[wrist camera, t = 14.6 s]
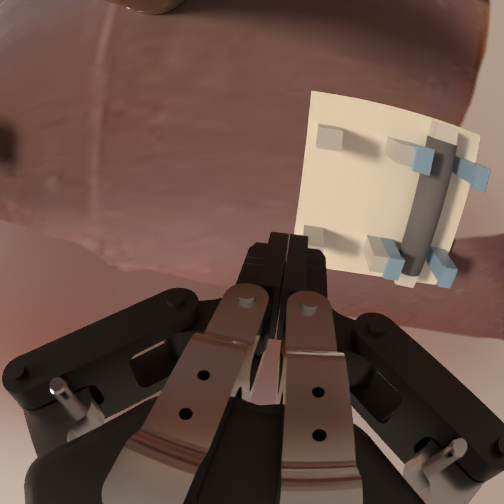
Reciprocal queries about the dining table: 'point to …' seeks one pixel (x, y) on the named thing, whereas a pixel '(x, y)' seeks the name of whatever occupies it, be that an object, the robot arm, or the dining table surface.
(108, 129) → the dining table surface
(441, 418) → the robot arm
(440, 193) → the dark grey dowel
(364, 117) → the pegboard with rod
